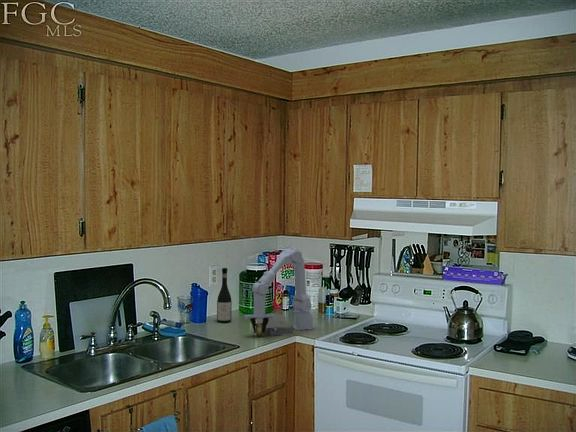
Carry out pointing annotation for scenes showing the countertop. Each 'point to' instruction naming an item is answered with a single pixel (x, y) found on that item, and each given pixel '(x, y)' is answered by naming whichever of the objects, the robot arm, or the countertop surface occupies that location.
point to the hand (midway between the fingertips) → (259, 332)
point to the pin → (259, 329)
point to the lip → (277, 330)
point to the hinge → (275, 321)
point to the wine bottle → (224, 301)
